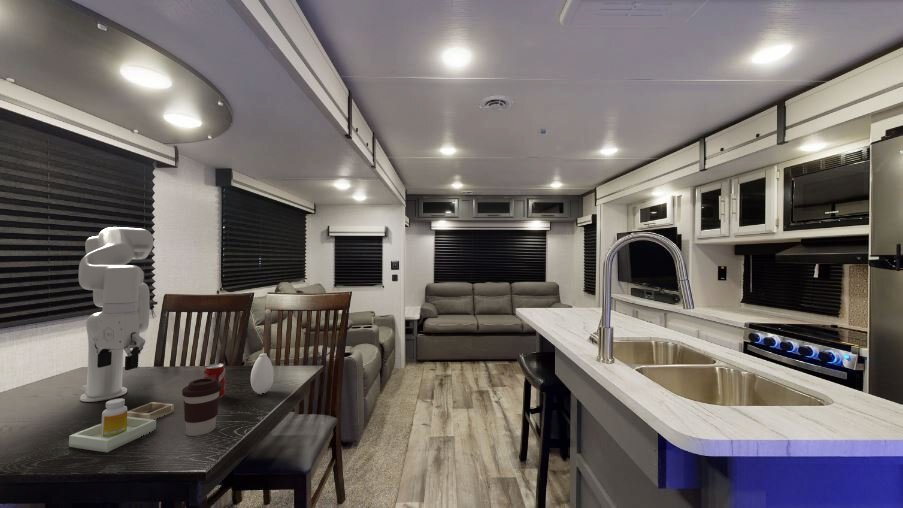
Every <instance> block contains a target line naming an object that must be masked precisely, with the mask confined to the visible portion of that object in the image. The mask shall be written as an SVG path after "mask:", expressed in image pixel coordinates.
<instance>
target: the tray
mask: <svg viewBox="0 0 903 508" xmlns="http://www.w3.org/2000/svg"><path fill="white" fill-rule="evenodd" d="M101 425H102V422H101V423H99V424H96V425H94V426H91V427H89V428H86V429H83V430H81V431H77V432H75V433H73V434H71V435H69V436H68V438H69V439H68V447H69V448H75V449H80V450H81V449H83V450H89V451H95V452H103V453H109V452H112V451H114V450H115V449H118V448H119V447H121V446H124V445H126V444H128V443H131V442H133V441H135V440H136V439H139V438H141V436H142V437H143V435H144V436H146V435H148V434H150V433H153V432H155V431H156V430H157V419H155V420H152V419H144V418H136V417H128V416H127V431H126V432H123V433H121V434H119V435H116V436H114V437H112V438H109V439H107V438H101ZM154 430H155V431H154ZM152 431H153V432H152ZM149 432H150V433H149Z"/></svg>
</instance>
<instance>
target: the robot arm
mask: <svg viewBox="0 0 903 508" xmlns="http://www.w3.org/2000/svg"><path fill="white" fill-rule="evenodd" d="M84 245H85V247H84V248H85V253H86V255H84V256H83V257H82V258H81V260H80V262H79V264H78V265H79V266H78V283H79V286H80V287H81V288H82V289H84V290H88V291H92V299H93V304H94V305H95V306H96V307H98V308H102V311H99V312H98V311H97V312H94V313H92V314H91V315H89V316H88V317H87V318H86V321H85V322H86V323H85V325H86V326H85V327H86V332H87V334H86V335H87V340H88V342H87V344H88V345H87V346H88V348H87V349H88V354H87V374H86V375H87V376H86V384H85V385H82V386H81V390H84V391H85V392H84V393H83V394H81V395H80V397H79V400H80V401H81V402H84V403H86V402H88V403H91V402H92V403H93V402H102V401H107V400H108V401H109V400H113V399H117V398H118V397H121V396H124V395H125V394H126V393H127V392H128V388H127V387H125V386H123V369H124V371H130V370H134V369H137V368H138V367H139V355H140V354H141V353H142V350H143V349H144V345H145V344H146V339H144V338H143V337H142V336H141V335H140V334H143V333H145V332H147V330H148V329H149V325H150V323H149V322H150V300H151V298H150V296H151V295H150V289H149V285H148V284H147V283H145V282H144V279H145V274H144V273H145V272H144V270H142V268H141V267H140V266H138V265H134V264H132V265H131V264H129V263H130V262H131V261H132V260H145V259H146V258H148V256H149V255H150V253H151V251H152V250H153V248H154V237H153V235H152V233H151V232H150V231H149V230H148V229H144V228H135V227H120V226H119V227H117V226H113V227H111V226H110V227H106V228H104V229H102V230H101V231H100V232H99V233H98V235H96V236H91V237H88V238H87V239H86V240H85V244H84ZM124 353H125V354H126V355H125V357H124ZM123 367H124V368H123Z"/></svg>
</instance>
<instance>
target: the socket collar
mask: <svg viewBox="0 0 903 508" xmlns="http://www.w3.org/2000/svg"><path fill="white" fill-rule="evenodd" d="M174 406H175V404H174V403H173V404H172V403H164V402H155V401H151V402H149V403H146V404H143V405H140V406H138V407H135V408H132V409H129V410H127V416H128V417H136V418H144V419H152V420H154V419H155V420H158V419H159V417H160V418H162V417H165V416H167V415H169V414H171V413H174V409H175V407H174ZM149 411H150V412H149ZM164 415H165V416H164ZM157 418H158V419H157Z"/></svg>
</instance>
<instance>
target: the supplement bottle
mask: <svg viewBox="0 0 903 508" xmlns="http://www.w3.org/2000/svg"><path fill="white" fill-rule="evenodd" d="M125 400H126V399H125V398H112V399H109V400H108V401H107V400H106V402H105V408H106V409H104V410H103V411H102V413H101V423H102V425H101V438H107V439H109V438H112V437H114V436H116V435H119V434H121V433H123V432H126V431H127V411H128V406H126V405H125V404H126V403H125V402H126V401H125Z"/></svg>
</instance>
